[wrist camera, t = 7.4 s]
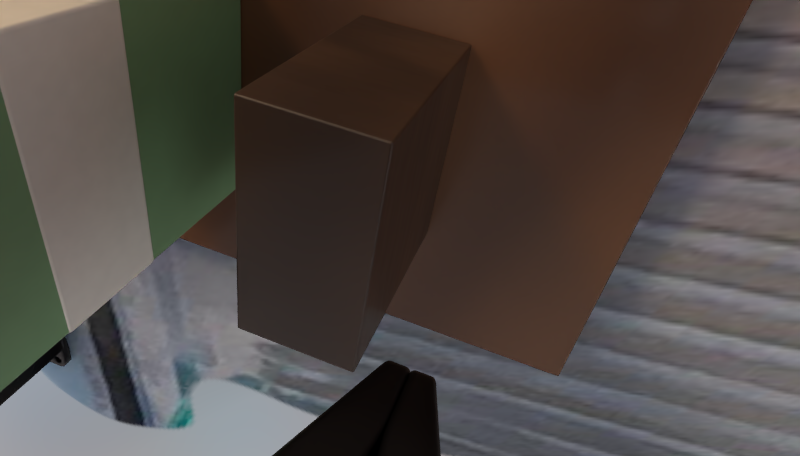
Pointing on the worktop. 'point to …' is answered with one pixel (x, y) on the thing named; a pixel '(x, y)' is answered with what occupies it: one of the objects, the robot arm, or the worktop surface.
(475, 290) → the walnut board
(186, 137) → the block
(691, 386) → the worktop surface
